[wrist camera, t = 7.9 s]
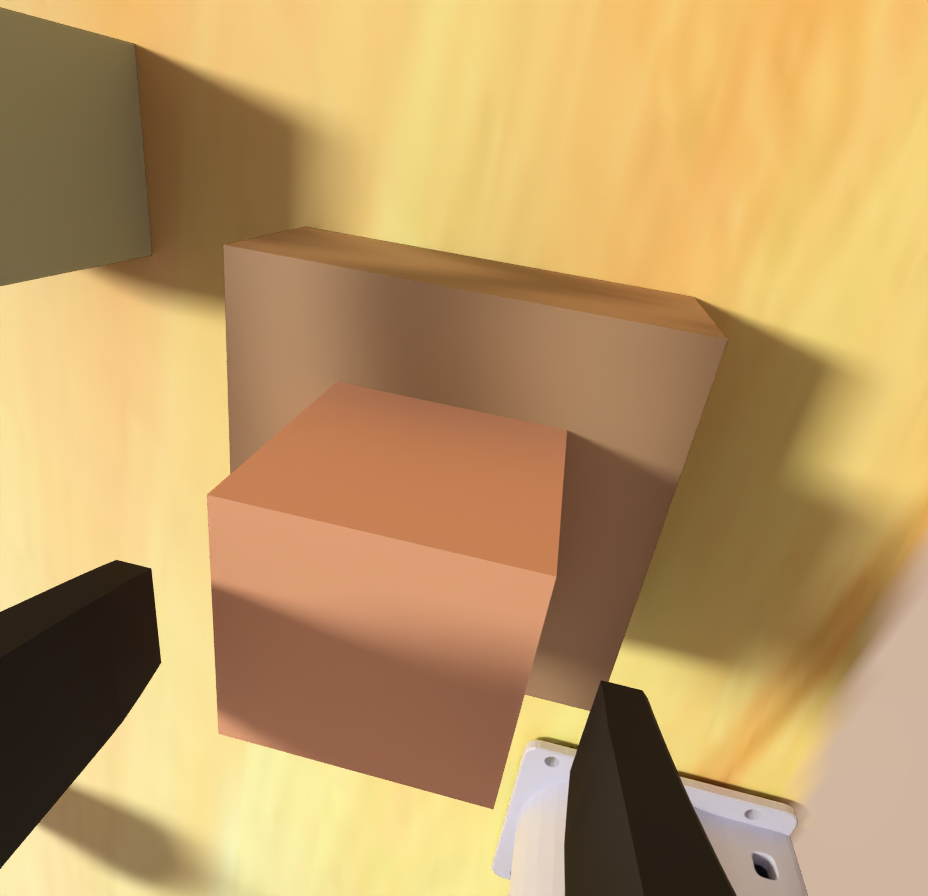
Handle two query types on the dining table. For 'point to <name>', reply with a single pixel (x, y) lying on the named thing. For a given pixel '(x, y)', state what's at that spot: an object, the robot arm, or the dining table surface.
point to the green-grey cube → (68, 150)
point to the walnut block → (491, 392)
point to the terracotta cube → (386, 587)
